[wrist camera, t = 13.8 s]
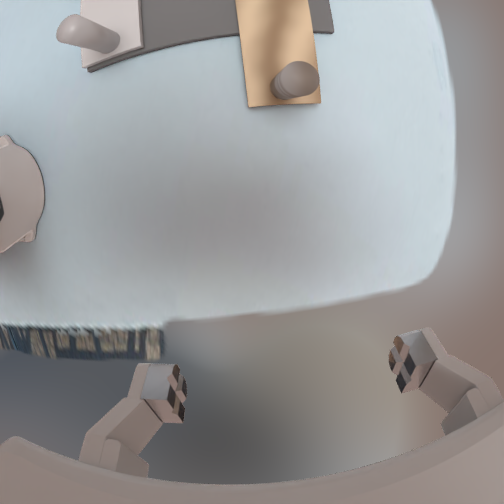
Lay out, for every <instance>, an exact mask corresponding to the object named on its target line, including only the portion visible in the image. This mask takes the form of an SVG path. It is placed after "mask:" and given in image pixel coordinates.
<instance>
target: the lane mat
mask: <svg viewBox="0 0 504 504" xmlns="http://www.w3.org/2000/svg"><path fill="white" fill-rule="evenodd" d="M308 4H309V10H310V16H311V22H312V28H313V33H329V34H332V33H334V26H333V20H332V14H331V9H330V4H329V0H308ZM141 18H142V33H143V45H144V47H143V48H140V49H137V50H133V51H130V52H127V53H124V54H121V55H119V56H116V57H113V58H110V59H108V60H105V61H103V62H100V63H98V64H95V65H93V66H90V67H88V68H87V70H88V72H93V71H96V70H98V69H101V68H103V67H106V66H109V65H111V64H114V63H117V62H120V61H123V60H126V59H129V58H132V57H135V56H138V55H141V54H145V53H148V52H152V51H155V50H159V49H163V48H167V47H171V46H176V45H180V44H185V43H190V42H195V41H200V40H206V39H212V38H219V37H226V36H235V35H240V33H239V25H238V17H237V10H236V2H235V0H141Z"/></svg>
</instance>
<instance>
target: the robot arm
mask: <svg viewBox="0 0 504 504" xmlns="http://www.w3.org/2000/svg"><path fill="white" fill-rule="evenodd" d="M43 206H44V186H43V180H42V176H41V173H40V170H39V168H38V165H37V163H36V162H35V160H34V158H33V157H32V156H31V154H30V153H29V152H28V151H27V150H25V149H24V148H22V147H20V146H18V145H16V144H14V142H13V141H12V140H11V138H10V137H9V136H8V135H3V136H1V137H0V252H1V253H3V252H5V251H6V250H7V249H8V248H10V247H11V246H12V245H14V244H15V243H16V242H18V241H19V242H31V241H33V240H34V239H35V236H36V225H37V223H38V221H39V219H40V217H41V214H42V211H43ZM393 343H394V345H395V346H394V347H393V348H392V349H391V350H390V353H389V365H390V368H391V371H392V372H393V373H394V374H396V375H397V378H396V382H397V385H398V387H399V389H400V391H401V393H405V392H408V391H411V390H415V389H418V388H419V389H420V390H421V391H422V392H423V393H425V394H426V395H427V396H428V397H429V398H431V399H432V400H433V401H434V402H436V403H437V404H438V405H439V406H441V407H442V408H443V409H444V410H445V411H447V412H448V413H449V414H448V415H447V416H446V417H445V418H444V420H443V421H442V423H441V426H442V428H443V431H444V433H445V436H444V437H441V438H439V439H437V440H435V441H433V442H431V443H428V444H426V445H424V446H421V447H419V448H416V449H414V450H411V451H409V452H406V453H404V454H401V455H398V456H395V457H392V458H390V459H387V460H384V461H380V462H377V463H374V464H370V465H367V466H363V467H360V468H356V469H352V470H348V471H344V472H340V473H335V474H330V475H325V476H320V477H314V478H308V479H302V480H294V481H286V482H277V483H265V484H245V485H213V484H194V483H182V482H172V481H164V480H157V479H150V478H147V475H148V468H149V465H148V464H147V462H145V461H144V460H143V459H141V458H140V457H139V456H138V454H139V453H140V452H141V451H142V449H143V448H144V447H145V446H146V444H147V443H148V442H149V440H150V439H151V438H152V437H153V436H154V434H155V433H156V432H157V430H158V429H159V428H160V427H161V425H162V424H163V423H162V422H164V423H165V422H166V423H183V421H184V413H185V408H184V406H183V404H182V403H183V402H184V401H185V400H186V398H187V384H186V381H185V378H184V377H183V376H182V375H180V374H179V373H180V368H179V367H178V365H177V364H149V363H139V364H138V365H137V367H136V369H135V373H134V376H133V379H132V383H131V386H130V390H129V393H128V397H127V398H123V399H122V400H121V401H120V402H119V403H118V404H117V405H116V406H114V407H113V408H112V409H111V410H110V411H109V412H108V413H107V414H106V415H105V416H104V417H103V418H102V419H100V420H99V421H98V422H97V423H96V424H95V425H94V426H93V427H92V428H91V429H90V430H89V431H87V433H86V435H85V439H84V442H83V445H82V449H81V453H80V457H79V460H78V461H77V460H74V459H71V458H68V457H65V456H62V455H60V454H57V453H55V452H52V451H50V450H47V449H45V448H42V447H40V446H38V445H36V444H33V443H31V442H29V441H27V440H25V439H23V438H21V437H18V436H14V437H11V438H9V439H8V440H6V441H5V442H4V443H2V444H1V445H0V504H504V399H503V397H502V395H501V394H500V392H499V390H498V388H497V386H496V385H495V383H494V381H493V379H492V378H491V377H490V376H487V375H486V374H484V373H483V372H481V371H479V370H477V369H475V368H474V367H472V366H470V365H468V364H467V363H465V362H463V361H461V360H460V359H458V358H456V357H454V356H452V355H449V356H448V354H447V352H446V351H445V349H444V348H443V346H442V344H441V343H440V341H439V340H438V338H437V337H436V335H435V333H434V332H433V330H432V329H431V328H430V327H427V328H424V329H420V330H416V331H412V332H409V333H405V334H402V335H398V336H396V337H395V339H394V342H393Z"/></svg>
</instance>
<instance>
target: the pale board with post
mask: <svg viewBox="0 0 504 504" xmlns="http://www.w3.org/2000/svg"><path fill="white" fill-rule="evenodd" d="M56 37H57V40H58V41H59V42H61V43H66V44H70V45H74V46H78V47H81V57H82V68H88V67H90V66H93V65H95V64H98V63H100V62H103V61H105V60H108V59H110V58H113V57H116V56H119V55H121V54H124V53H127V52H130V51H133V50H137V49H140V48H143V47H144V45H143V33H142V18H141V0H81V12H80V15H77V14H74V15H70V16H68V17H67V18H65V19H64V20H63V21H62V22H61V24H60V25H59V27H58V29H57V33H56Z"/></svg>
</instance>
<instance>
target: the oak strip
mask: <svg viewBox="0 0 504 504" xmlns="http://www.w3.org/2000/svg"><path fill="white" fill-rule="evenodd" d="M235 2H236V10H237V17H238V25H239V33H240V41H241V49H242V57H243V65H244V73H245V82H246V90H247V99H248V107H256V106H268V105H283V104H307V103H321V95H320V85H319V81H320V80H319V74H318V66H317V57H316V50H315V42H314V35H313V28H312V22H311V16H310V10H309V4H308V0H235Z"/></svg>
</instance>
